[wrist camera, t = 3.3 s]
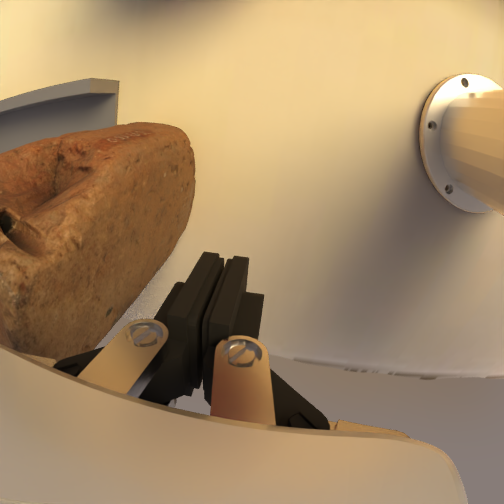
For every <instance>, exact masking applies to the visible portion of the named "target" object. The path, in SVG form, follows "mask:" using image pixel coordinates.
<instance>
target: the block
mask: <svg viewBox="0 0 504 504" xmlns="http://www.w3.org/2000/svg"><path fill="white" fill-rule="evenodd" d="M194 175H195V159H194V152H193V149H192V148H191V147H190V141H189V138H188V137H187V135H186V134H185V133H184V132H183V131H182V130H181V129H179V128H177V127H174V126H170V125H166V124H158V123H148V122H136V123H130V124H127V125H124V124H123V125H115V126H112V127H108V128H103V129H98V130H85V131H78V132H72V133H67V134H63V135H61V136H59V137H52V138H45V139H42V140H38V141H35V142H31V143H28V144H25V145H23V146H20V147H17V148H14V149H12V150H9V151H6V152H3V153H1V154H0V344H1V345H4V346H6V347H8V348H11V349H13V350H15V351H17V352H19V353H24V354H29V355H34V356H39V357H45V358H50V359H55V361H56V363H57V362H58V361H60V360H62V359H65V358H68V357H71V356H75V355H78V354H81V353H85V352H88V351H92V350H94V349H95V347H96V346H97V345H98V343H99V342H100V341H101V340H102V339H103V338H104V337H105V336H106V334H107V333H108V332H109V331H110V330H111V329H112V327H113V326H114V325H115V323H116V322H117V321H118V320H119V319H120V318H121V317H122V315H123V314H124V313H125V311H126V310H127V309H128V308H129V307H130V305H131V304H132V303H133V302H134V301H135V300H136V298H137V297H138V296H139V294H140V293H141V292H142V290H143V289H144V288H145V287H146V285H147V284H148V283H149V281H150V280H151V279H152V278H153V277H154V275H155V273H156V272H157V271H158V270H159V269H160V268H161V266H162V265H163V264H164V262H165V261H166V260H167V258H168V257H169V256H170V254H171V253H172V251H173V249H174V247H175V245H176V243H177V241H178V239H179V237H180V236H181V234H182V233H183V231H184V230H185V228H186V225H187V222H188V219H189V216H190V212H191V208H192V202H193V198H194V193H195V178H194Z"/></svg>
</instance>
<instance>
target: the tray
mask: <svg viewBox="0 0 504 504" xmlns="http://www.w3.org/2000/svg"><path fill="white" fill-rule="evenodd" d="M118 90H119V81H115V80H106V79H95V78H89V79H83V80H78V81H73V82H68V83H63V84H59V85H54V86H50V87H46V88H42V89H38V90H34V91H31V92H27V93H24V94H20V95H17V96H14V97H11V98H7V99H4V100H1V101H0V154H1V153H3V152H6V151H9V150H12V149H14V148H17V147H20V146H23V145H25V144H28V143H31V142H35V141H38V140H42V139H45V138H52V137H59V136H61V135H63V134H67V133H72V132H78V131H85V130H98V129H103V128H108V127H112V126H115V125H117V107H118Z"/></svg>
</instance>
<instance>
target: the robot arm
mask: <svg viewBox="0 0 504 504" xmlns="http://www.w3.org/2000/svg"><path fill="white" fill-rule="evenodd" d="M461 83H462V84H461ZM428 123H430V128H428ZM419 142H420V150H421V156H422V160H423V163H424V167H425V170H426V172H427V174H428V176H429V178H430V181H431V182H432V184H433V185H434V187H435V188H436V190H437V191H438V192H439V193H440V194H441V195H442V196H443V197H444V198H445V199H446V200H447V201H449V202H450V203H451V204H453V205H454V206H456V207H458V208H459V209H461V210H463V211H467V212H471V213H485V212H489V211H492V210H496V211H497V212H499V213H500V214H502V215H503V216H504V89H503V88H502V87H500V86H499V85H498V84H497V83H495V82H494V81H492V80H491V79H489V78H487V77H484V76H482V75H479V74H472V73H465V74H458V75H455V76H451V77H449V78H447V79H445V80H444V81H442V82H440V83H439V84H438V85H437V87H436V88H435V89H434V90H433V91H432V92H431V94H430V96H429V97H428V99H427V101H426V103H425V106H424V109H423V111H422V116H421V121H420V130H419ZM446 185H447V187H446ZM445 187H446V189H445ZM248 265H249V258H247V257H240V256H234V257H233V259H228V260H227V262H226V264H225V267H224V258H219V254H218V253H211V252H203V254H202V255H201V257H200V259H199V260H198V262H197V264H196V265H195V267H194V269H193V271H192V272H191V274H190V276H189V277H188V279H187V281H186V282H185V283H183V282H177V283H176V284H175V285H174V287H173V288H172V290H171V292H170V293H169V295H168V296H167V298H166V300H165V301H164V303H163V304H162V306H161V308H160V309H159V311H158V312H157V314H156V316H155V317H154V319H138V320H134V321H132V322H130V323H128V324H127V325H126V326H124V327H123V328H122V329H121V331H120V332H119V333H118V334H117V335H116V336H115V337H114V338H113V339H112V340H111V341H110V342H109V343H108V344H107V345H106V346H105V347H102V348H98V349H95V350H92V351H88V352H85V353H81V354H78V355H75V356H71V357H68V358H65V359H62V360H60V361H58V362H57V363H56V361H55V359H50V358H45V357H39V356H34V355H29V354H24V353H19V352H17V351H15V350H13V349H11V348H8V347H6V346H4V345H1V344H0V504H468V500H467V497H466V493H465V489H464V486H463V483H462V481H461V478H460V476H459V473H458V471H457V469H456V467H455V465H454V463H453V462H452V460H451V459H450V458H449V457H448V455H447V454H446V453H444V452H443V451H442V450H440V449H439V448H436V447H434V446H433V445H430V444H428V443H425V442H422V441H418V440H415V439H411V438H410V437H408V436H407V435H406V434H405V433H403V432H399V431H397V430H390V429H384V428H378V427H373V426H367V425H362V424H357V423H352V422H347V421H343V420H338V422H337V423H336V422H332V421H328V420H327V418H326V417H325V416H324V415H323V414H322V413H321V412H320V411H319V410H318V409H316V408H315V407H314V406H313V405H312V404H310V403H309V402H308V401H307V400H306V399H305V398H303V397H302V396H301V395H300V394H299V393H297V392H296V391H295V390H294V389H293V388H292V387H290V386H289V385H288V384H287V383H286V382H285V381H284V380H282V379H281V378H280V377H279V376H278V375H277V374H276V373H275V372H274V371H272V370H271V369H270V366H269V357H268V352H267V349H266V347H265V346H264V345H263V343H261V342H260V341H258V336H259V329H260V322H261V315H262V308H263V301H264V294H257V293H249V292H246V286H247V275H248ZM202 379H203V390H204V399H205V400H206V401H207V402H208V404H209V405H210V406H211V412H210V416H209V415H204V414H199V413H194V412H190V411H185V410H181V409H177V408H174V407H175V405H176V401H177V400H176V398H178V397H180V396H183V395H186V396H191V395H192V392H193V389H194V388H196V389H199V388H200V385H201V382H202Z"/></svg>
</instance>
